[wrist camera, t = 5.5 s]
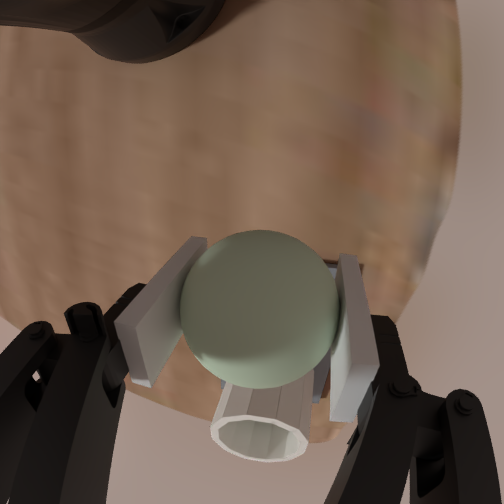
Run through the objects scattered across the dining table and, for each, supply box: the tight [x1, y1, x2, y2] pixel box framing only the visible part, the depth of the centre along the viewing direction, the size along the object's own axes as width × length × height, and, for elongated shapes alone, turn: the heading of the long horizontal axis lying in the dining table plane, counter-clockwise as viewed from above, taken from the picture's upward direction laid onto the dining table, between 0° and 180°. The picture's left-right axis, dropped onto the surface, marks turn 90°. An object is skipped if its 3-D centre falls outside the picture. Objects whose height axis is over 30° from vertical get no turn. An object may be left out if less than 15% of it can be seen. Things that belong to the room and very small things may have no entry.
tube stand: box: [210, 263, 338, 462], centre depth 29 cm, size 20×13×11 cm, turn 178°
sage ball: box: [180, 230, 340, 389], centre depth 12 cm, size 6×6×6 cm
